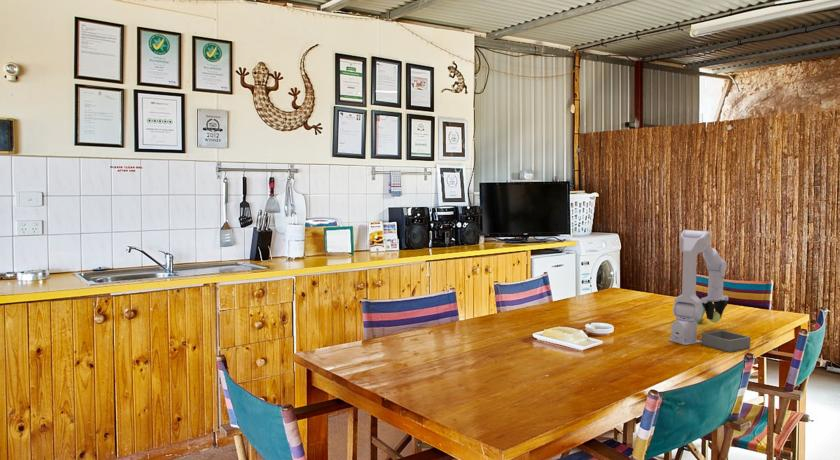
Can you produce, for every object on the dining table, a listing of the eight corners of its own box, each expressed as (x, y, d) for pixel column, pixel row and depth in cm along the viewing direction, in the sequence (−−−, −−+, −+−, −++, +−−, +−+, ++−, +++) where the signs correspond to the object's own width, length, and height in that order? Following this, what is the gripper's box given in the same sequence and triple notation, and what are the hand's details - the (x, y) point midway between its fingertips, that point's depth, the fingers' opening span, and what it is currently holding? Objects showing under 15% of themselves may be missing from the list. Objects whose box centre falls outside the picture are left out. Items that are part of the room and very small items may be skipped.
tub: (729, 352, 233) (729, 340, 233) (701, 344, 244) (701, 333, 243) (749, 348, 239) (750, 337, 238) (721, 341, 249) (722, 330, 249)
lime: (715, 324, 263) (715, 312, 262) (705, 321, 267) (705, 310, 267) (722, 323, 265) (723, 311, 265) (712, 320, 269) (713, 309, 269)
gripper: (712, 289, 258) (710, 322, 259) (735, 286, 265) (733, 318, 266) (697, 286, 264) (696, 318, 265) (720, 284, 271) (719, 315, 272)
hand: (714, 318), depth 266 cm, fingers closed on lime, 5 cm apart
